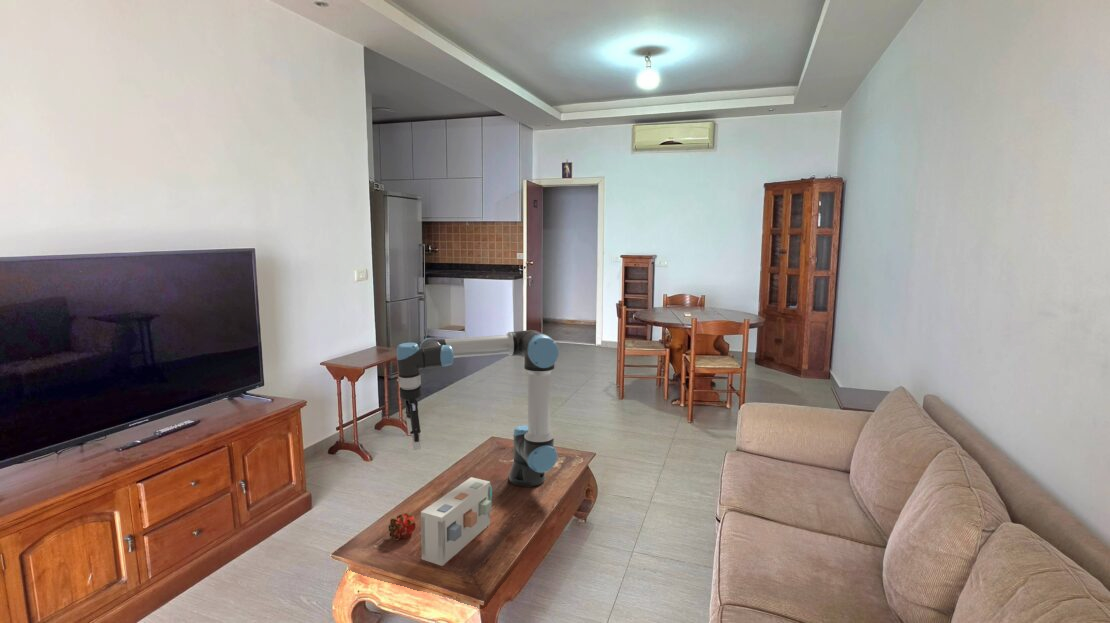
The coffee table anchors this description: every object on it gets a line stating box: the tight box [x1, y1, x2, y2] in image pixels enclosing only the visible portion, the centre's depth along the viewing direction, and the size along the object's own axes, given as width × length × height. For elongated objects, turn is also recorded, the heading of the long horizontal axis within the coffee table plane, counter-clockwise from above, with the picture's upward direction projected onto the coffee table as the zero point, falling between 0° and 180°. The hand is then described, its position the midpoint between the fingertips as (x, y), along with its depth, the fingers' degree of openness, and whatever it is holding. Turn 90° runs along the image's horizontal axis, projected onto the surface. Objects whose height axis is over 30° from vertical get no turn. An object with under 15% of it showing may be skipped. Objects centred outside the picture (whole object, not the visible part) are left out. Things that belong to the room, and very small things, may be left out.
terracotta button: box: [463, 511, 477, 528], centre depth 182 cm, size 4×5×4 cm
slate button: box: [447, 523, 462, 541], centre depth 174 cm, size 4×5×4 cm
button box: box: [420, 476, 491, 567], centre depth 184 cm, size 28×8×16 cm, turn 155°
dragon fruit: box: [388, 512, 417, 541], centre depth 187 cm, size 8×8×12 cm
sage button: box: [479, 499, 492, 515], centre depth 190 cm, size 4×5×4 cm
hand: (414, 441), depth 201 cm, fingers open, 13 cm apart
